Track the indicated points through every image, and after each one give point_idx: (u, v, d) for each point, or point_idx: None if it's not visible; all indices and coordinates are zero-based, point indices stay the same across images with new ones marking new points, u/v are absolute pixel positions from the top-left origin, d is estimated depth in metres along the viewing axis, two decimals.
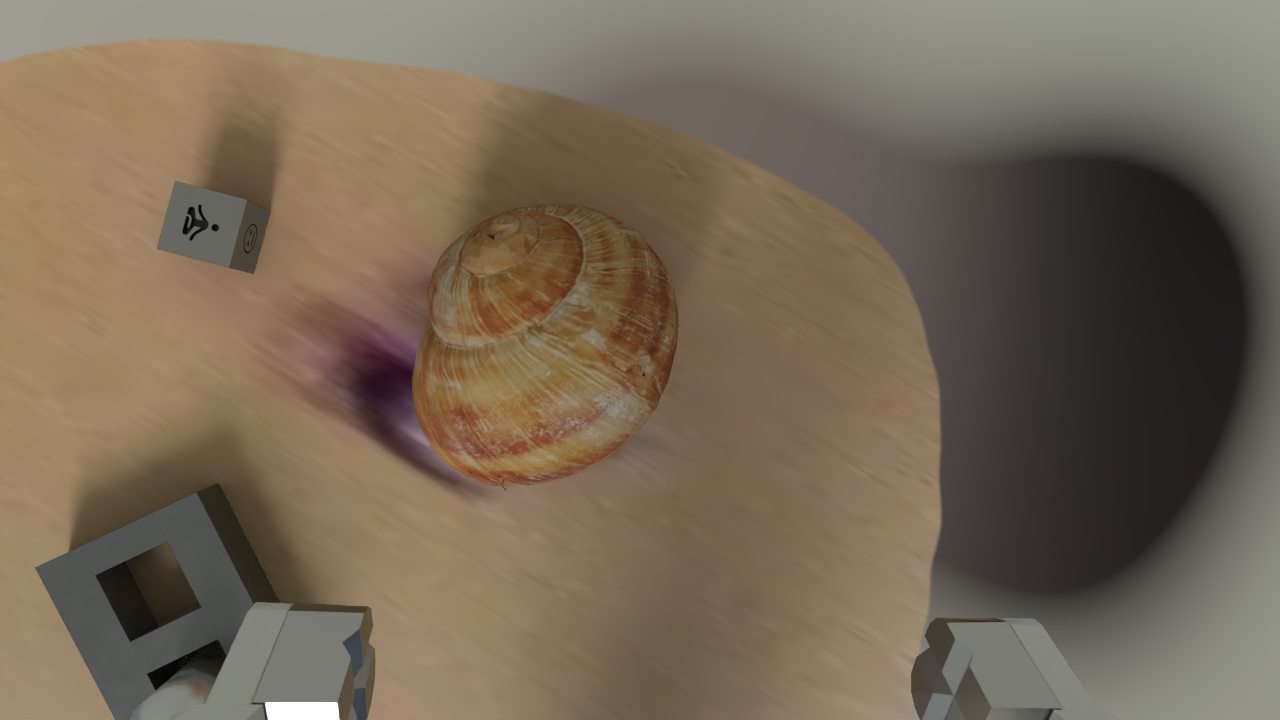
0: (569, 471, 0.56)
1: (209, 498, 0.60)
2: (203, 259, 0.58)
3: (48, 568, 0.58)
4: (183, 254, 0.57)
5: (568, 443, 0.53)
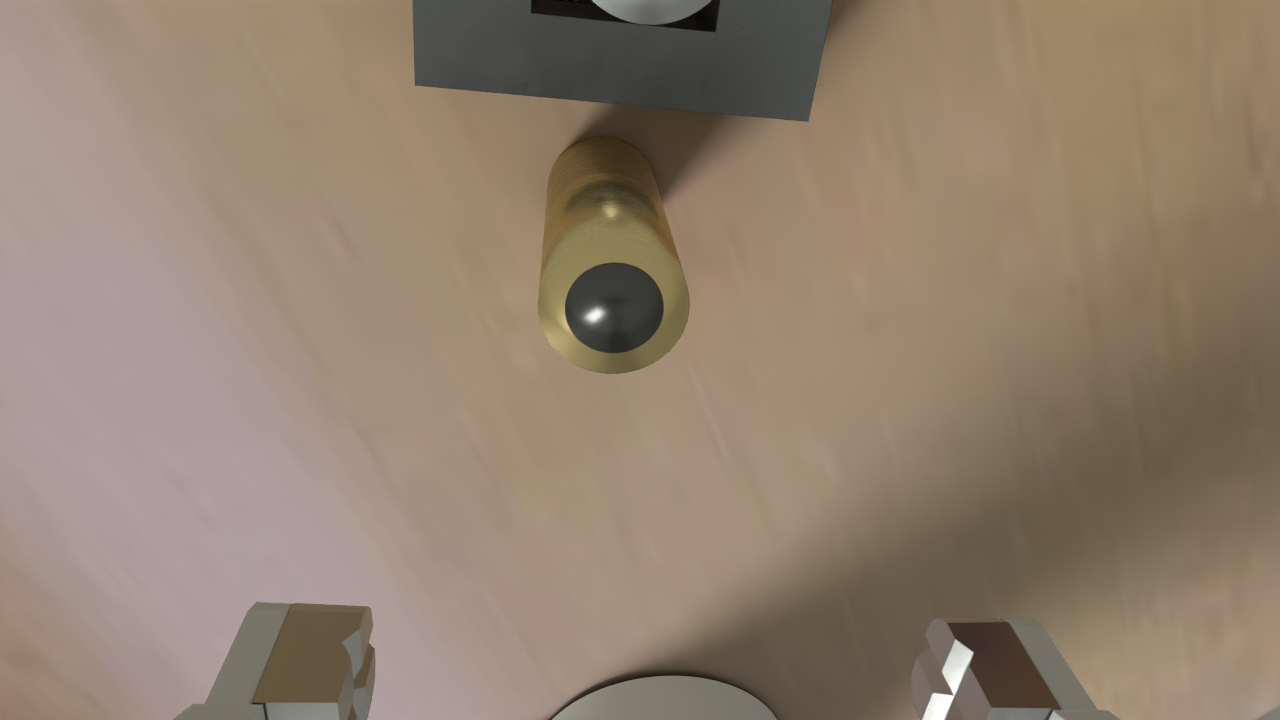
0: None
1: None
2: None
3: None
4: None
5: None
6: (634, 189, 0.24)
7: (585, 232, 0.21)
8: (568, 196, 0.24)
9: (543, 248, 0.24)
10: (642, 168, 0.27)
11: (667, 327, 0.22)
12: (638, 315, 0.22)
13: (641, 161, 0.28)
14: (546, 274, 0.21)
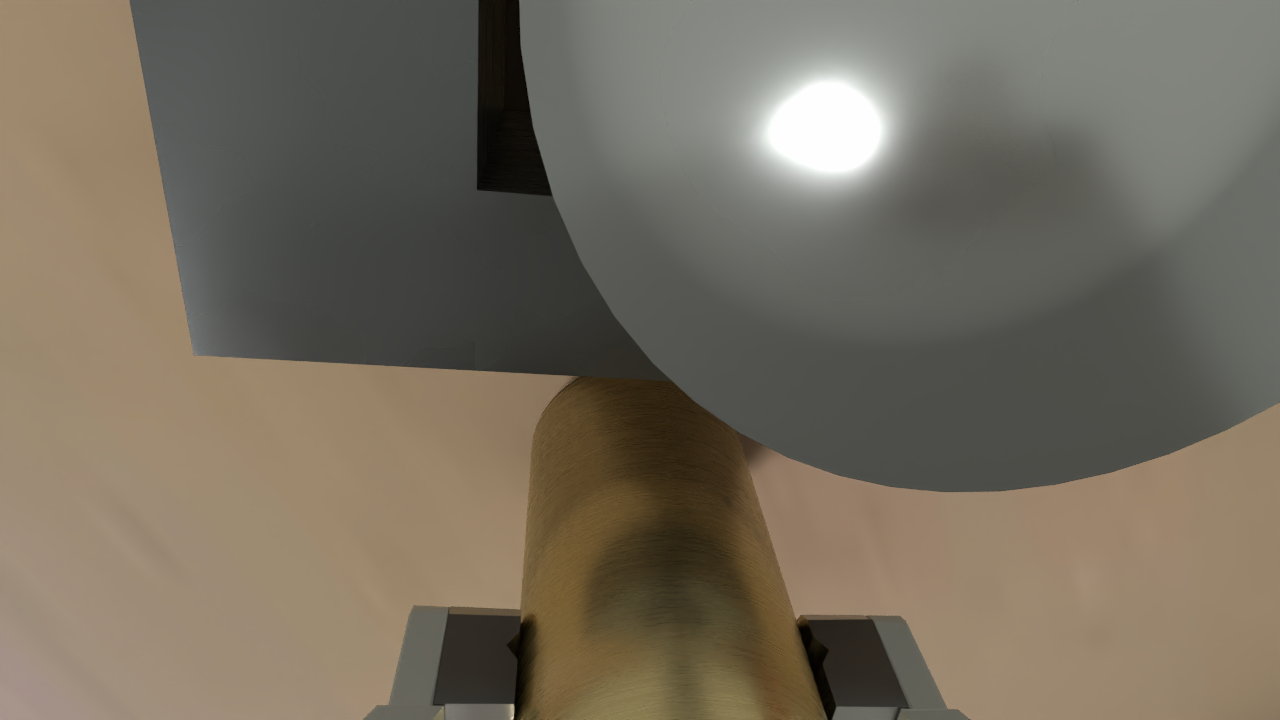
0: None
1: None
2: None
3: None
4: None
5: None
6: (733, 597, 0.10)
7: None
8: (573, 614, 0.10)
9: None
10: (727, 459, 0.13)
11: None
12: None
13: (720, 428, 0.14)
14: None
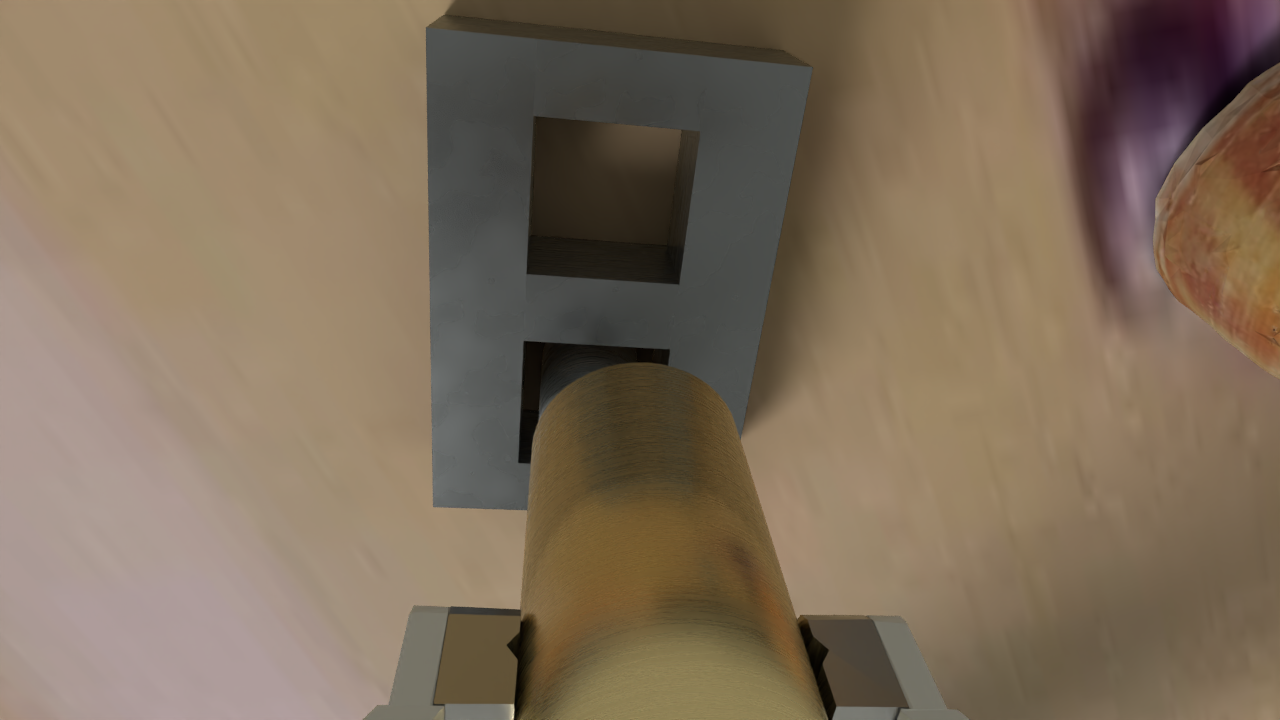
0: None
1: None
2: None
3: (450, 47, 0.25)
4: None
5: None
6: (734, 597, 0.10)
7: None
8: (573, 614, 0.10)
9: None
10: (727, 458, 0.13)
11: None
12: None
13: (720, 427, 0.14)
14: None
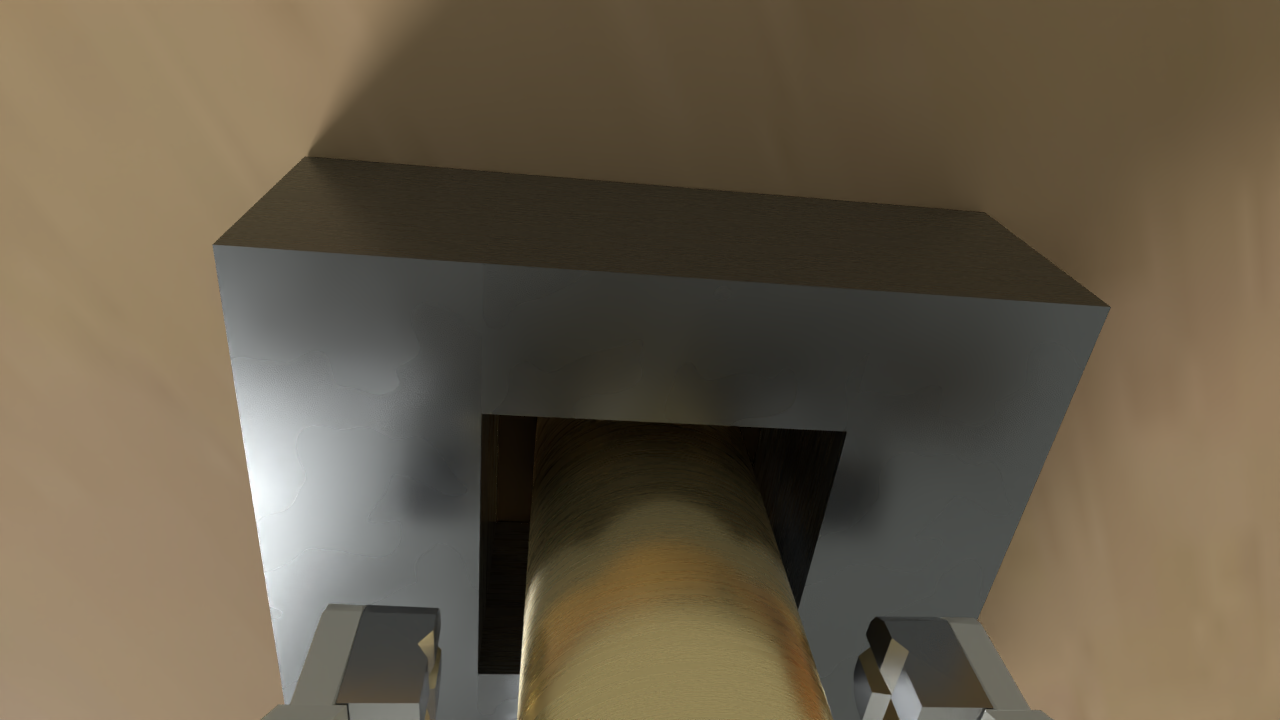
0: None
1: None
2: None
3: (278, 284, 0.10)
4: None
5: None
6: (725, 542, 0.11)
7: None
8: (578, 558, 0.11)
9: (520, 705, 0.10)
10: None
11: None
12: None
13: None
14: None
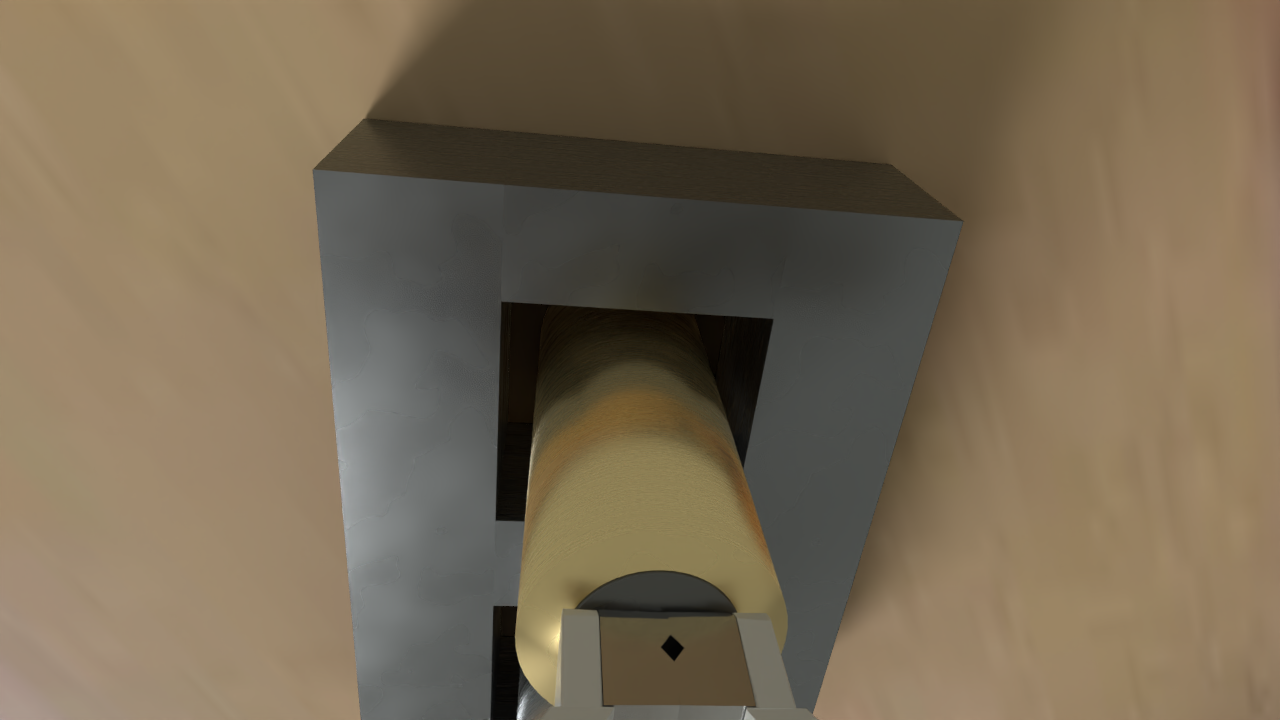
0: None
1: None
2: None
3: (357, 199, 0.14)
4: None
5: None
6: (678, 383, 0.15)
7: (601, 509, 0.12)
8: (571, 394, 0.15)
9: (529, 490, 0.14)
10: (683, 323, 0.18)
11: None
12: None
13: None
14: (530, 590, 0.11)
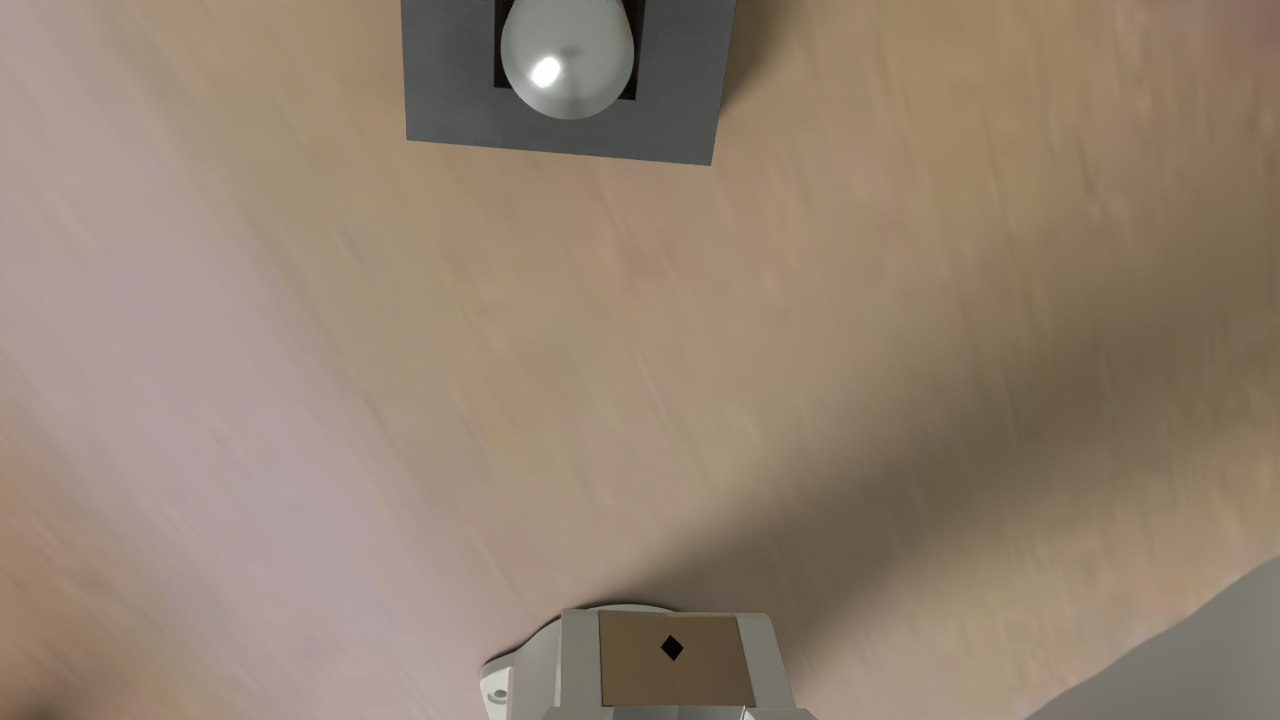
0: None
1: None
2: None
3: None
4: None
5: None
6: None
7: None
8: None
9: None
10: None
11: None
12: None
13: None
14: None
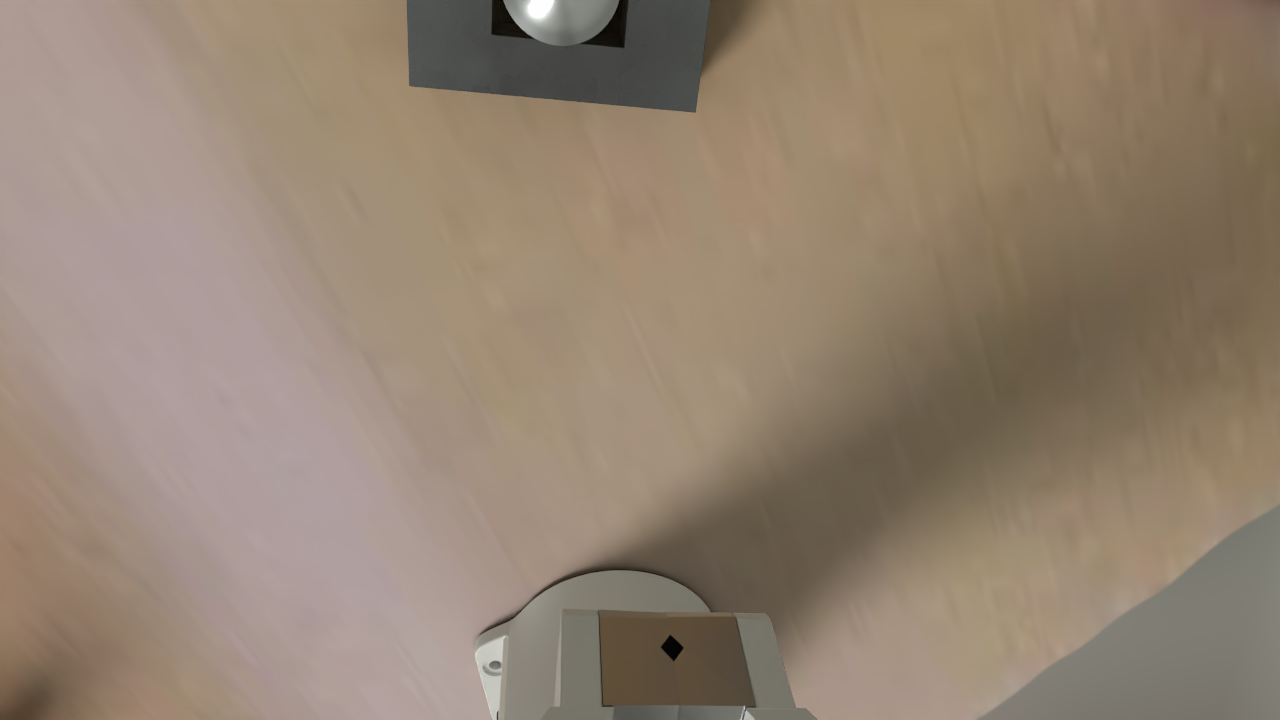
0: None
1: None
2: None
3: None
4: None
5: None
6: None
7: None
8: None
9: None
10: None
11: None
12: None
13: None
14: None
